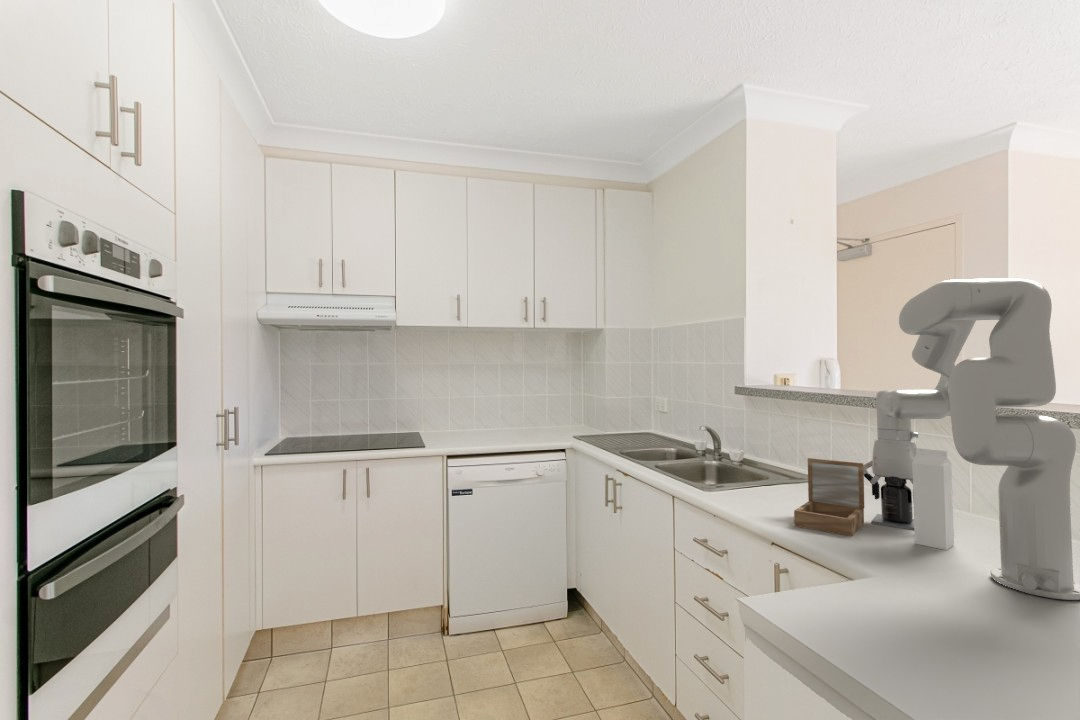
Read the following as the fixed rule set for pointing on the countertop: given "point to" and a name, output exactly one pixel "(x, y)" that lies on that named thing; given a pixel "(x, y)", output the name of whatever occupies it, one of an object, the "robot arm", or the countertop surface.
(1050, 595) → the robot arm
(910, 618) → the countertop surface
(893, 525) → the slate tile
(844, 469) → the box
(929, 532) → the milk
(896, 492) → the supplement bottle
